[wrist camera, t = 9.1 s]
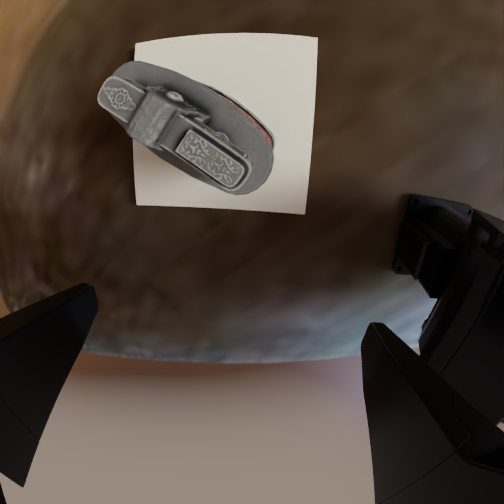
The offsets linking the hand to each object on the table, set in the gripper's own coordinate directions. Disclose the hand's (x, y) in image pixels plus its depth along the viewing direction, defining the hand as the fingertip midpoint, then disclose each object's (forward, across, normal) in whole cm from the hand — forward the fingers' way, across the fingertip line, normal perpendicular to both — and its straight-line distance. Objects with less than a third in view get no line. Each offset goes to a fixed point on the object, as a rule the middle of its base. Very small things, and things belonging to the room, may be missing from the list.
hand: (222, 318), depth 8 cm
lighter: (+12, +3, -5) cm, 13 cm away
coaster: (+13, +3, -5) cm, 14 cm away
